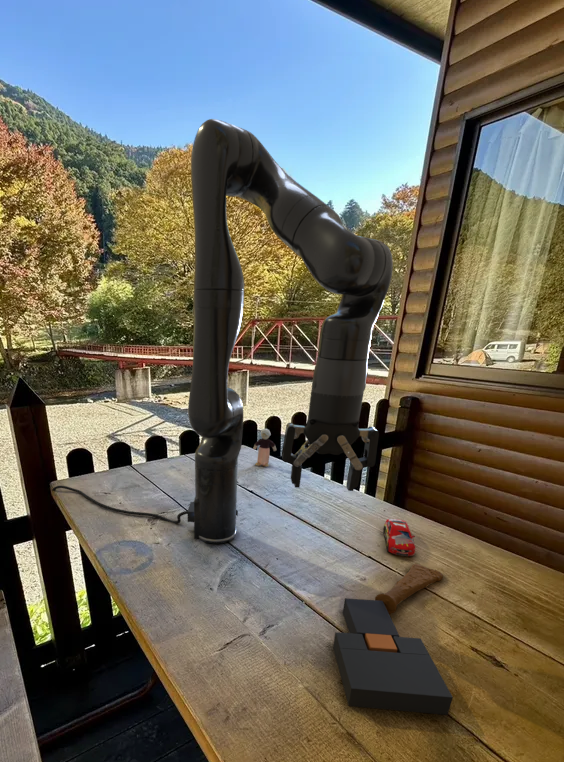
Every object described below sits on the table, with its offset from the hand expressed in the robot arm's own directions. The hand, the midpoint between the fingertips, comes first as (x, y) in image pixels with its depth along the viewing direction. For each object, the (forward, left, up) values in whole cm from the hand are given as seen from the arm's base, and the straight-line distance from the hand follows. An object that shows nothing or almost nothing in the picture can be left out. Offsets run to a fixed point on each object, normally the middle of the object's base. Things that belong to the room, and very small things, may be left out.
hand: (322, 487), depth 68 cm
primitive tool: (+17, +2, -20) cm, 27 cm away
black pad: (+7, -19, -20) cm, 29 cm away
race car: (+21, +19, -20) cm, 35 cm away
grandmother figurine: (-6, +68, -20) cm, 71 cm away
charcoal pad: (+7, -12, -20) cm, 24 cm away
